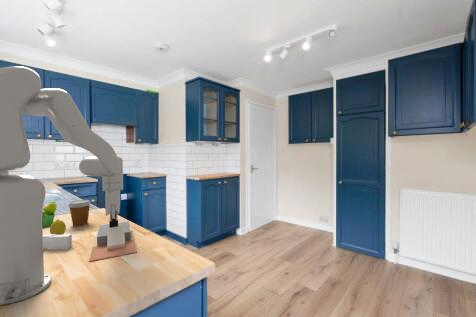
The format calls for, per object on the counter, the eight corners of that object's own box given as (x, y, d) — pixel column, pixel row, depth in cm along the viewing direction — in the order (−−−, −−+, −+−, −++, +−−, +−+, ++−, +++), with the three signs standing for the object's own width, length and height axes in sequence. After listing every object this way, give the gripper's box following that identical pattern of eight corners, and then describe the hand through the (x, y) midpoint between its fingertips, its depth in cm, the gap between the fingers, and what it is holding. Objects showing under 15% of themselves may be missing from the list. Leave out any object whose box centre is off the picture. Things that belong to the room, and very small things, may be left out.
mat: (136, 252, 84) (136, 251, 84) (88, 262, 77) (88, 260, 77) (134, 240, 96) (134, 239, 96) (92, 247, 89) (92, 246, 89)
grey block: (130, 241, 95) (130, 231, 95) (97, 247, 90) (96, 237, 90) (129, 229, 109) (128, 221, 109) (100, 234, 104) (99, 225, 104)
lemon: (57, 240, 97) (56, 221, 96) (46, 239, 98) (46, 221, 97) (69, 235, 102) (68, 218, 102) (59, 234, 103) (58, 217, 103)
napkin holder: (80, 247, 91) (80, 233, 91) (45, 258, 81) (44, 243, 81) (63, 239, 99) (63, 226, 99) (29, 249, 89) (29, 235, 89)
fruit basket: (34, 223, 120) (33, 202, 120) (55, 219, 126) (55, 199, 126) (35, 228, 112) (35, 206, 111) (58, 224, 118) (57, 203, 118)
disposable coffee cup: (88, 226, 115) (88, 202, 115) (66, 228, 111) (65, 204, 111) (93, 220, 124) (92, 199, 123) (72, 222, 120) (71, 200, 120)
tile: (125, 246, 89) (125, 243, 88) (107, 249, 86) (107, 246, 85) (124, 229, 96) (124, 225, 95) (107, 231, 93) (107, 228, 92)
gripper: (103, 184, 99) (104, 226, 99) (101, 189, 86) (102, 237, 86) (122, 183, 102) (123, 223, 103) (123, 188, 89) (124, 234, 90)
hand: (114, 229), depth 95 cm, fingers closed
